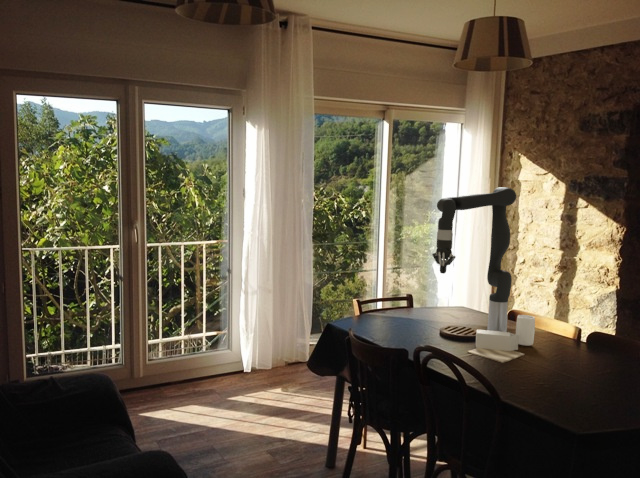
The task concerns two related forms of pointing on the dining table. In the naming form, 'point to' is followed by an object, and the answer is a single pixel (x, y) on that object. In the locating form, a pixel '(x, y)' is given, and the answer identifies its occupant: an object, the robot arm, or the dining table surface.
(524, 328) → the cup
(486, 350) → the birch board
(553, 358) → the dining table surface
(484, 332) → the milk carton
